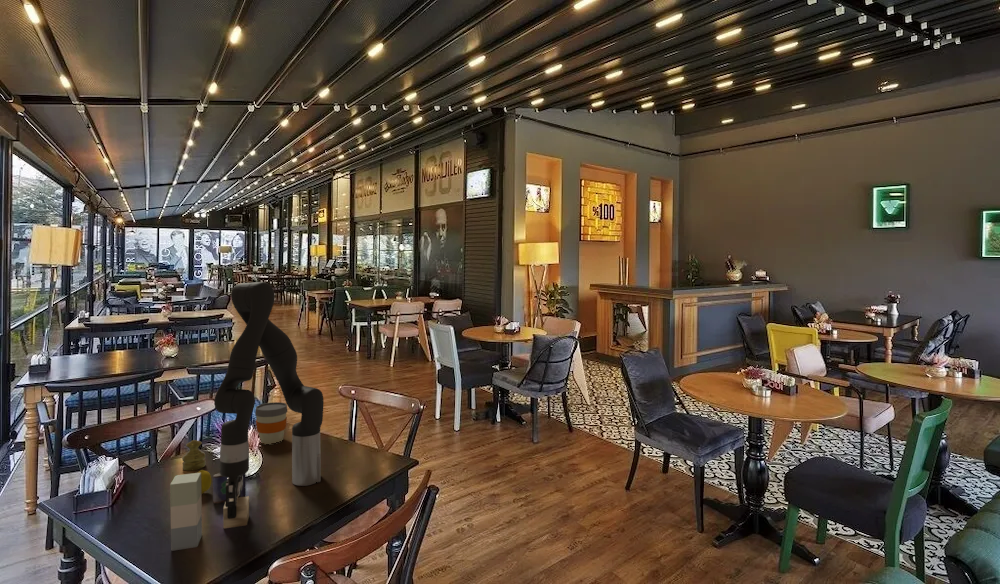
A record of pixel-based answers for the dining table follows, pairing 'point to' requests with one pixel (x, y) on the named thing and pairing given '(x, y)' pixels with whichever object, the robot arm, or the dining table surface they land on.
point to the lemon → (205, 481)
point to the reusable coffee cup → (271, 421)
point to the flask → (223, 488)
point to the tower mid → (186, 515)
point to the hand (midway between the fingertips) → (234, 511)
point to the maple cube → (241, 513)
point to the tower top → (185, 489)
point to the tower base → (186, 536)
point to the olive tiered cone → (194, 457)
